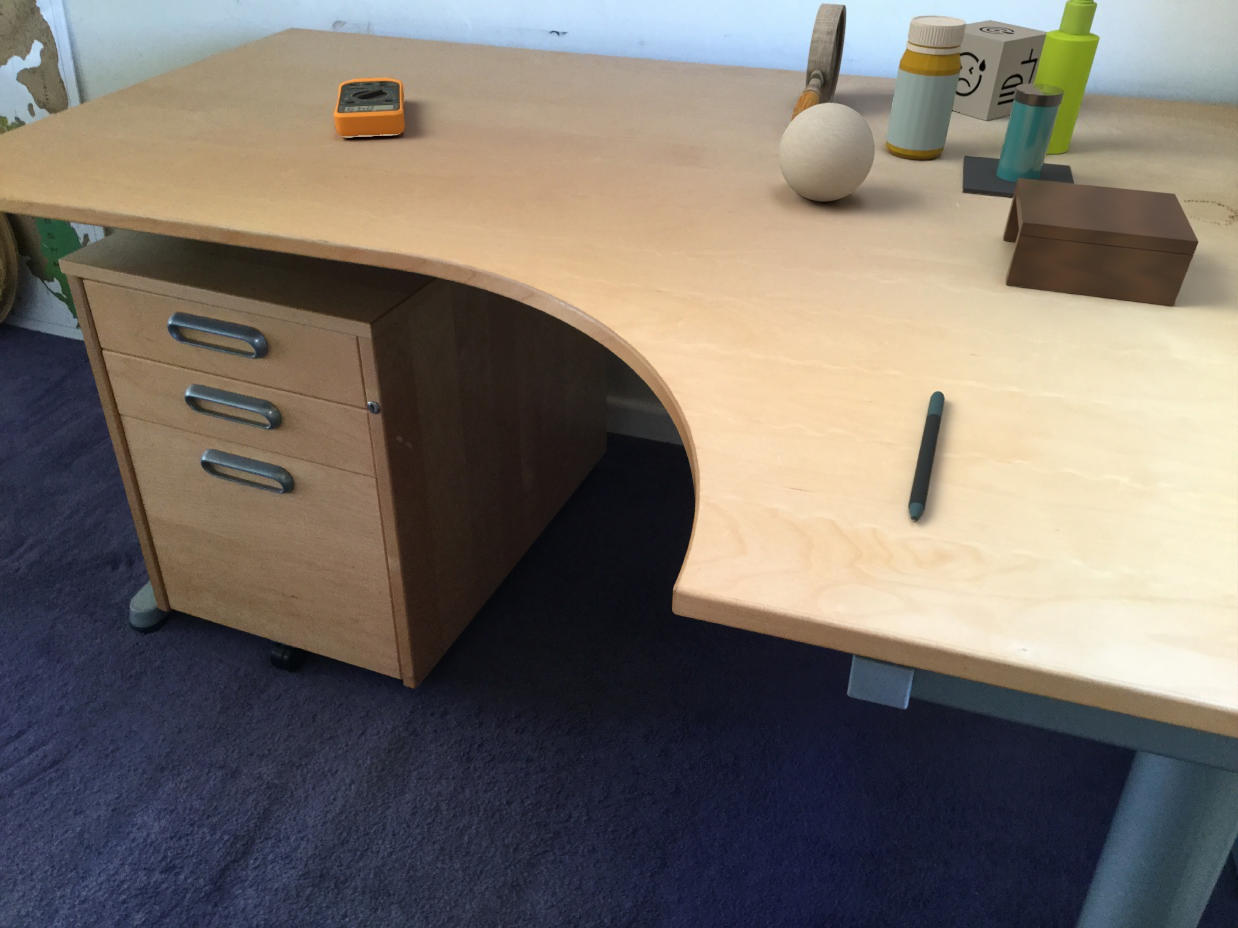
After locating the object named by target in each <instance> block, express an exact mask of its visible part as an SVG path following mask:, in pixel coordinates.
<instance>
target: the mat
mask: <svg viewBox="0 0 1238 928" xmlns="http://www.w3.org/2000/svg"><path fill="white" fill-rule="evenodd" d="M998 162H999V158H997V157H986V156H975V155H966V154H965V155H964V156H963V167H962V168H963V170H962V171H963V172H962V173H963V174H962V175H963V176H962V193H966V194H967V193H968V194H976V195H985V196H986V195H987V196H994V197H995V196H997V197H1005V198H1013V195H1014V191H1015V187H1016V184H1017V183H1015V182H1010V181H1006V180H1003V179H1001V178H999V177H998V176H997V175H996V170H997V166H998ZM1039 180H1043V181H1053V182H1063V183H1073V184H1075V181H1074V176H1073V173H1072V169H1071V165H1070V164H1069V165H1067V164H1056V163H1047V162H1044V165H1043V169H1042V172H1041V176H1040V179H1039Z"/></svg>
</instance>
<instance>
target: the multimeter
mask: <svg viewBox="0 0 1238 928" xmlns="http://www.w3.org/2000/svg"><path fill="white" fill-rule="evenodd" d="M404 102H405V89H404V83H403V82H402V81H401V80H399V79H396V78H390V77H367V78H365V77H364V78H354V79H349V80H346V81H343V82H341V83H340V84H339V85H338V95H337V101H336V104H335V105H336V106H335V108H334V109H335V110H334V112H333V120H334V127H335V129H336V132H337V134H338V135H339V136H340V135H341V136H358V135H380V134H382V135H383V134H399V133H402V132H403V133H404V132H405V130H406V129H405V128H406V123H405V115H404V114H405V112H404V104H405V103H404ZM403 133H402V134H403ZM341 136H340V137H341Z"/></svg>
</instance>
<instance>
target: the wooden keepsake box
mask: <svg viewBox="0 0 1238 928" xmlns="http://www.w3.org/2000/svg"><path fill="white" fill-rule="evenodd" d="M1010 204H1011V205H1010V207H1009V211H1008V215H1007V218H1006V222H1005V227H1004V230H1003V234H1002V240H1003V241H1005V242H1013V243H1015V244H1014V247H1013V251H1012V254H1011V258H1010V262H1009V265H1008V269H1007V274H1006V277H1005V286H1011V287H1020V288H1027V289H1034V290H1043V291H1051V292H1057V293H1058V292H1059V293H1065V294H1066V293H1067V294H1073V295H1081V296H1090V297H1098V298H1106V299H1114V300H1122V301H1129V302H1136V303H1138V302H1139V303H1143V304H1144V303H1145V304H1152V305H1153V304H1154V305H1160V306H1170V307H1174V306H1175V304H1176V301H1177V299H1178V297H1179V293H1180V291H1181V289H1182V286H1183V284H1184V281H1185V278H1186V276H1187V274H1188V271H1189V267H1190V265H1191V263H1192V260H1193V257H1194V255H1195V252H1196V250H1197V247H1198V245H1199V243H1200V242H1199V239H1198V238H1197V236H1196V234H1195V231H1194V229H1193V227H1192V225H1191V223H1190V221H1189V219H1188V217H1187V215H1186V213H1185V211H1184V208H1183V206H1182V205H1181V203H1180V201H1179V199H1178V197H1177V195H1176V193H1171V192H1162V191H1161V192H1160V191H1151V190H1140V189H1131V188H1122V187H1111V186H1110V187H1109V186H1102V185H1092V184H1081V183H1074V184H1073V183H1063V182H1053V181H1043V180H1033V179H1023V178H1018V180H1017V184H1016V187H1015V191H1014V195H1013V197H1012V200H1011V203H1010Z"/></svg>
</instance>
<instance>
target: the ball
mask: <svg viewBox="0 0 1238 928" xmlns="http://www.w3.org/2000/svg"><path fill="white" fill-rule="evenodd" d="M790 122H791V123H789V124H788V125H787V127H786V128H785V130H784V132H783V134H782V136H781V140H780V144H779V146H778V147H779V148H778V163H779V167H780V171H781V174H782V177H783V178H784V180H785V182H786V183H787V185H788V186H789V187H790V188H791V189H792V190H793V191H795V193H797V194H798V195H799V196H801V197H803V198H804V199H807V200H811V201H813V202H814V201H815V202H833V201H836V200H840V199H842V198H844V197H847V196H849V195H850V194H852V193H853V192H854V191H856V190H857V189H858V188H859V187H860V186H861V185H862V184H863V182H865V180H866V178H867V177H868V176H869V173H870V172H871V169H872V166H873V163H874V159H875V154H876V153H875V151H876V149H875V147H876V146H875V145H876V144H875V138H874V134H873V132H872V129H871V127H870V126H869V123H868V122H867V120H866V119H865V118H864V117H863V115H861V114H860V113H859V112H858V111H856V110H855V109H854V108H852V107H850V106H848V105H845V104H842V103H837V102H832V103H823V104H818V105H815V106H812V107H810V108H808V109H806V110H804V111H802V112H801V113H800V114H799V115H797V116H796V117H795V118H794V119H793V120H792V121H791V120H790Z"/></svg>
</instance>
